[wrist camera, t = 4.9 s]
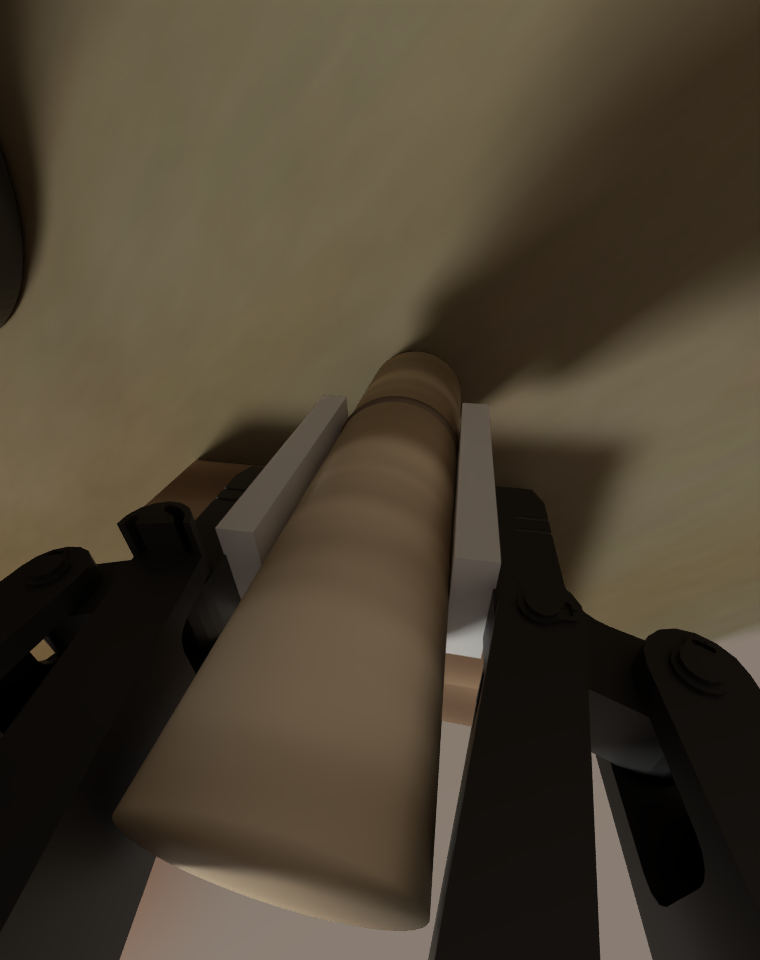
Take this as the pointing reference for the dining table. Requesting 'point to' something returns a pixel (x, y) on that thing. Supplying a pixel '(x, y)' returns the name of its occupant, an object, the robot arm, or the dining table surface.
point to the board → (212, 477)
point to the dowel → (327, 684)
